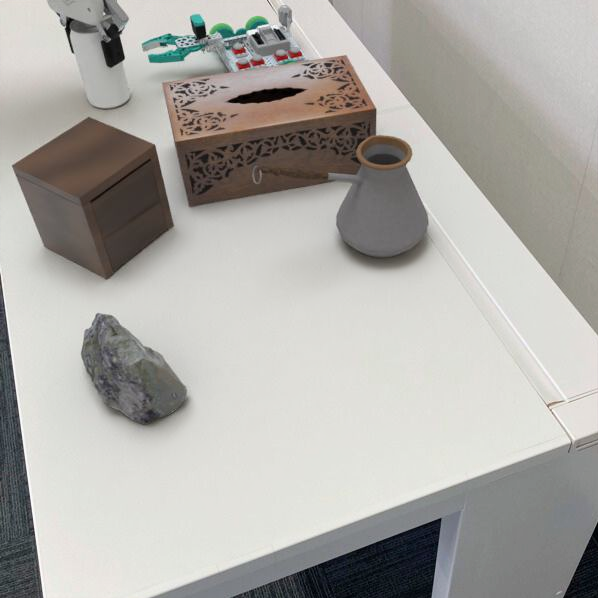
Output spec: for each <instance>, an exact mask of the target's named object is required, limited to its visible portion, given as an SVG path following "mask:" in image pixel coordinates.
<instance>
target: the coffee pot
mask: <svg viewBox="0 0 598 598" xmlns="http://www.w3.org/2000/svg"><path fill="white" fill-rule="evenodd" d="M356 155H357V158H358V160H359V161H360V162H361V164H362V166H361V168H360V170H359V171H358V173H357V175H348V174H336V173H328V172H323V171H318V170H312V169H306V168H300V167H287V168H281V167H280V166H279V165H276V166H274V167H269V166H267V165H264V166H254V168H253V172H252V176H253V181H254V183H255V184H260V182H261V178H262V173H265V174H268V173H273V174H274V175H275V176H279V175H280V174H281V175H284V176H288V177H292V178H295V179H317V180H327V179H328V180H335V181H334V182H336V181H337V182H343V183H351V185H350V187H349V189H348V191H347V193H346V195H345V196H344V199H343V201H342V202H341V204H340V206H339V208H338V210H337V213H336V216H335V217H336V218H335V221H336V222H335V224H336V228H337V230H338V232H339V234H340V236H341V237H342V240H344V241H345V242H346V244H347V245H348V246H350V247H352V248H353V249H355V250H356V251H358V252H360V253H362V254H364V255H366V256H370V257H372V258H373V257H374V258H391V257H396V256H398V255H400V254H403V253H404V252H407V251H410V250H411V249H412V248H414V247H415V246H416V245H418V244H419V242H420V241H421V240H422V239H423V237H424V236H425V235H426V233H427V230H428V227H429V223H430V222H429V215H428V212H427V209H426V207H425V204H424V202H423V200H422V199H421V196H420V195H419V192H418V189H417V188H416V185H415V183H414V180H413V179H412V175H411V174H410V172H409V170H408V167H407V165H408V163H409V162H410V161H411V159H412V157H413V150H412V147H411V145H410V144H409V143H408V142H407V141H405V140H403V139H402V138H400V137H396V136H392V135H382V134H378V135H377V134H376V135H372V136H370V137H368V138H367V139H365V140H364V141H363V142H361V143H360V145H359V146H358V148H357V150H356ZM256 167H257V171H259V172H260V179H259V182H258V183H256V182H255V178H254V171H255V168H256Z"/></svg>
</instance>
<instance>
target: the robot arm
mask: <svg viewBox="0 0 598 598" xmlns="http://www.w3.org/2000/svg"><path fill="white" fill-rule="evenodd" d="M46 2H47V5H48V7H49V8H50V9H51V10H52V11H53V12H54V13H55V14H56V15H57V17H59V23H60V25H61V27H64V31H65V35H66V39H67V42H68V45H69V48H70V52H71V54H74V50H73V47H72V43H71V39H70V32H71V29H70V23H71V22H72V21H73V20H78V21H81V22H84V23H87V24H90V25H96V27H97V29H98V31H99V33H100V34H101V36H102V38H103V40H102V41H101V46H102V50H103V53H104V57H105V61H106V65H107V66H108V67H110V68H112V67H114V66H115V65H117V64H119V63H120V62H122V61H123V62H124V61H125V59H126V55H125V51H124V47H123V44H122V38H121V35H123V31H124V29H125V27H126V25H127V24H128V22H129V20H130V19H129V16H128V14H127V13H126V11H124V9H123V8H122V7H121V5H120V4H119V3H118V0H46ZM106 20H108V22H109V24H110V27H109V28H108V30H107V29H106V27H105V25H104V23H103V22H104V21H106ZM74 55H75V54H74Z"/></svg>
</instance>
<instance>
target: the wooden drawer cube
mask: <svg viewBox="0 0 598 598" xmlns="http://www.w3.org/2000/svg"><path fill="white" fill-rule="evenodd" d="M11 168H12V170H13V172H14V174H15V177H16V180H17V182H18V184H19V187H20V189H21V192H22V195H23V197H24V199H25V202H26V205H27V207H28V209H29V212H30V215H31V217H32V219H33V222H34V224H35V227H36V230H37V232H38V235H39V237H40V240H41V241H42V244H43V246H44V247H45V248H46V249H48V250H50V251H52V252H54V253H56V254H58V255H60V256H62V257H63V258H66V259H67V260H69V261H72V262H73V263H75V264H77V265H79V266H81V267H83V268H85V269H87V270H89V272H92V273H93V274H96V275H98V276H99V277H101V278H104V279H106V280H108V279H109V278H111V277H112V276H113V275H114V272H115V271H116V270H117V269H119V268H120V267H121V266H122V265H124V264H125V263H126V262H127V261H129V260H130V259H132V257H134V256H135V255H136V254H138V253H139V252H140V251H142V249H144V248H145V247H146V246H148V245H149V244H150V243H152V242H153V241H154V240H155V239H156V238H158V237H159V236H160V235H161V234H162V233H164V232H165V231H169V230H170V229H172V228H174V226H175V224H174V220H173V215H172V212H171V206H170V202H169V199H168V193H167V189H166V185H165V181H164V177H163V172H162V168H161V163H160V159H159V156H158V151H157V146H156V143H155V144H154V143H153V142H150V141H148V140H145V139H143V138H141V137H138V136H136V135H133V134H131V133H128V132H126V131H124V130H122V129H119V128H118V127H114V126H112V125H110V124H107V123H105V122H103V121H100V120H98V119H95V118H94V117H91V116H88V117H86V118H84V119H82V120H81V121H80V122H78V123H77V124H74V125H73V126H72V127H70V128H69V129H67V130H65V131H64V132H62V133H61V134H59V135H58V136H56V137H54V138H53V139H51V140H49V141H48V142H46V143H44V144H43V145H41V146H40V147H39V148H37V149H35V150H34V151H33V152H30V153H29V154H27V155H26V156H24V157H23V158H21V159H19V160H18V161H16V162H15V163H13V164H12V165H11Z"/></svg>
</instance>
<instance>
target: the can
mask: <svg viewBox="0 0 598 598" xmlns="http://www.w3.org/2000/svg"><path fill="white" fill-rule="evenodd" d="M103 23H104V25H105V27H106V29H107V30H108V28H109V27H110V24H109V22H108V20H106V21H104V22H103ZM70 29H71V32H70V39H71V43H72V47H73V50H74V57H75V60H76V64H77V67H78V71H79V74H80V78H81V81H82V85H83V88H84V91H85V94H86V98H87V101H88V102H89V104H90V105H92V106H93V107H95V108H97V109H101V110H111V109H116V108H119V107H121V106H123V105H125V104H126V103H127V102H128V101H129V99H130V97H131V91H130V86H129V82H128V78H127V74H126V70H125V65H124V61H122V62H120V63H119V64H117V65H115V66H114V67H112V68H110V67H108V66H107V65H106V61H105V57H104V53H103V50H102V46H101V41H102V40H103V38H102V36H101V34H100V33H99V31H98V29H97V27H96V25H90V24H87V23H84V22H81V21H78V20H73V21H72V22H71V23H70Z"/></svg>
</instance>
